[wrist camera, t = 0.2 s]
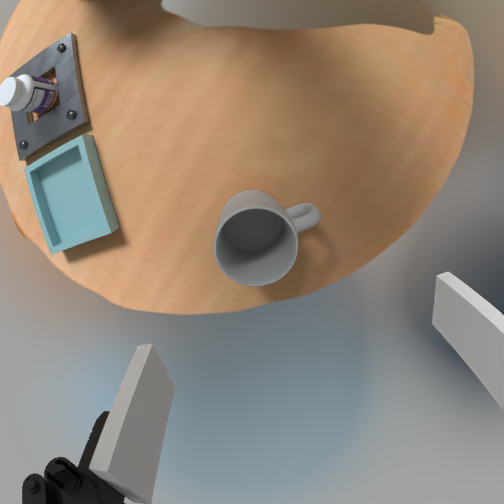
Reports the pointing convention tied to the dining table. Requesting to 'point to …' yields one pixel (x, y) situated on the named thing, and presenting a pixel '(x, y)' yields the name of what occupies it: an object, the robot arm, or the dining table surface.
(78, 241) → the tray
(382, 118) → the dining table surface
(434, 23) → the dining table surface
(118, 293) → the dining table surface
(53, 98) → the pill bottle
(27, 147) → the plate
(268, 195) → the mug
